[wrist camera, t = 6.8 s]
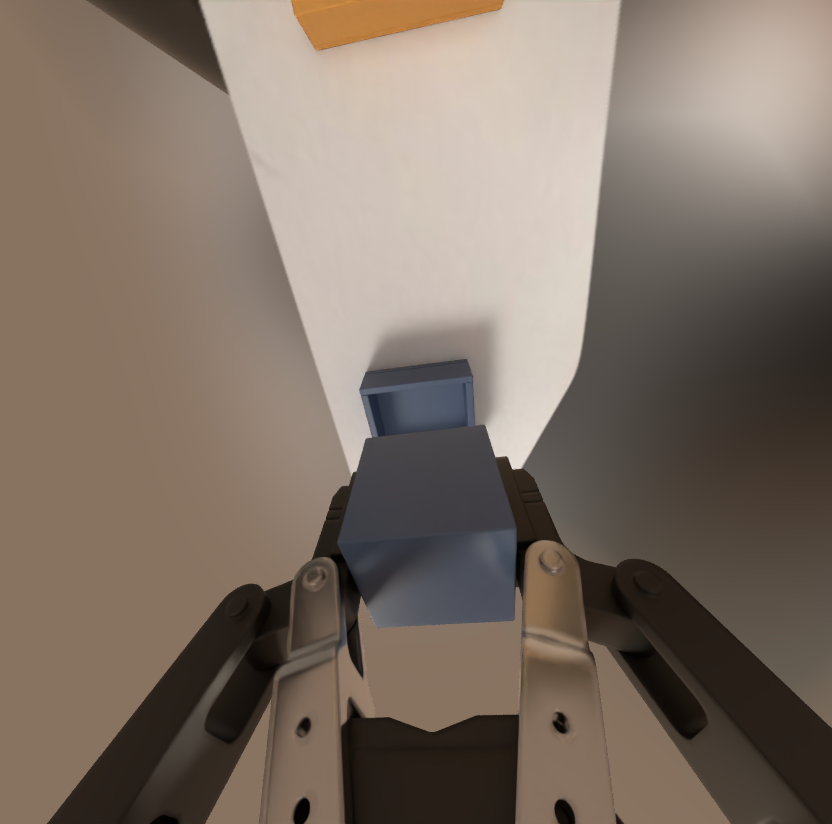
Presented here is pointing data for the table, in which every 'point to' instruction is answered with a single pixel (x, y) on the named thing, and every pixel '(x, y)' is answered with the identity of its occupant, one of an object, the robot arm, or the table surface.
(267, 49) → the table surface
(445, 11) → the ochre bin
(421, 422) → the blue bin
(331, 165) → the table surface
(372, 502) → the blue block
